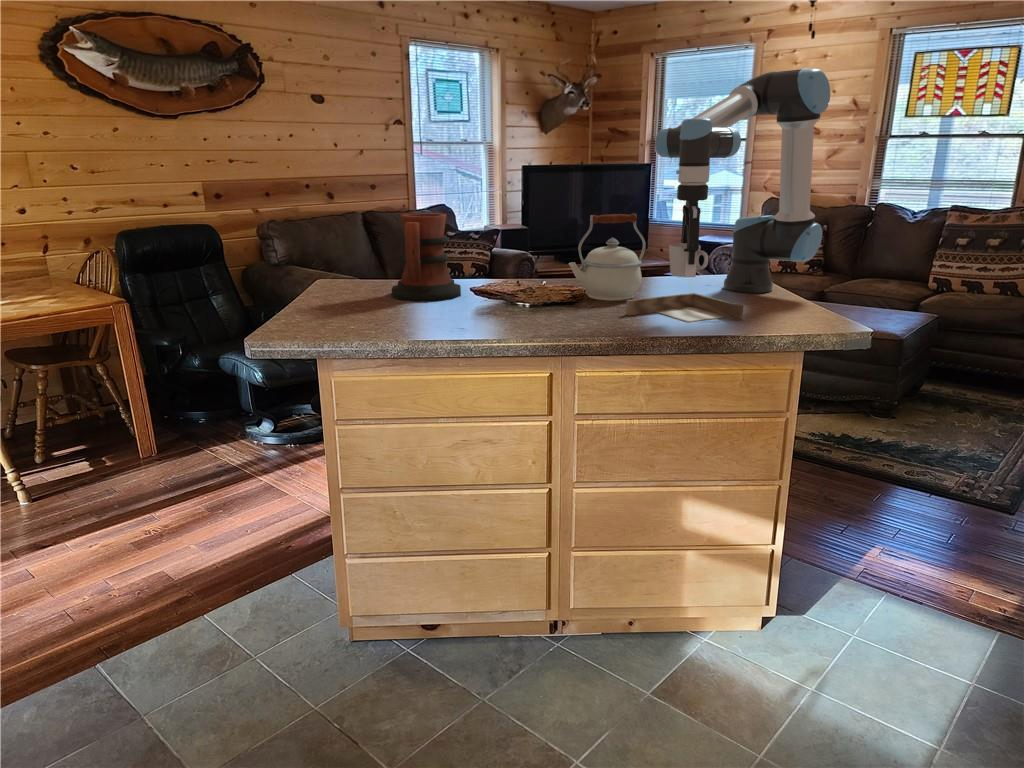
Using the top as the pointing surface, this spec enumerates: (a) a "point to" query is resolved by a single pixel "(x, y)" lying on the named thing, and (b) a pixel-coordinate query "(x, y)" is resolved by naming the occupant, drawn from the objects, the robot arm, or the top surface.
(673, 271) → the cup
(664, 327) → the top surface
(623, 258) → the kettle
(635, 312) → the wooden corner frame
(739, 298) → the top surface
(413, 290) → the tankard
